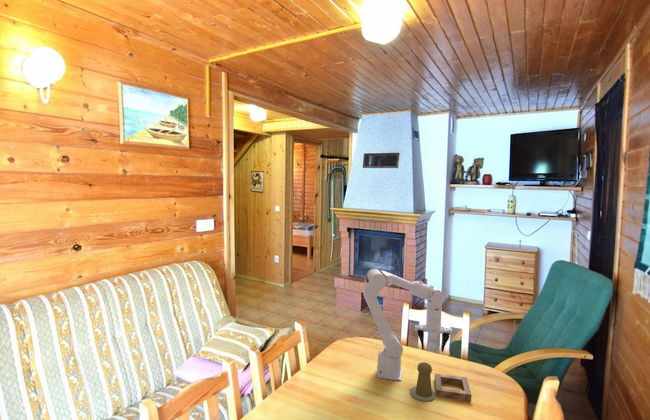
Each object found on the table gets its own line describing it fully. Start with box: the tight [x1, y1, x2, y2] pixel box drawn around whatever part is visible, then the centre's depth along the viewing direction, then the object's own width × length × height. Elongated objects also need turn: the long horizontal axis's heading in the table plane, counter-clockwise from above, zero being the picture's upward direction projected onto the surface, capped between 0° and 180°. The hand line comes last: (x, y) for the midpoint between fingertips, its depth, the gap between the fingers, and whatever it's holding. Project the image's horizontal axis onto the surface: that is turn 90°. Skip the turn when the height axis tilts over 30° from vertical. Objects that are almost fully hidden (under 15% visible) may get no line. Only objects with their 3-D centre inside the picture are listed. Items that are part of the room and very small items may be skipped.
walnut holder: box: [434, 373, 472, 402], centre depth 138 cm, size 12×12×2 cm
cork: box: [415, 361, 433, 397], centre depth 134 cm, size 6×6×11 cm
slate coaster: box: [409, 385, 436, 403], centre depth 135 cm, size 9×9×1 cm
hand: (432, 349), depth 148 cm, fingers open, 7 cm apart
